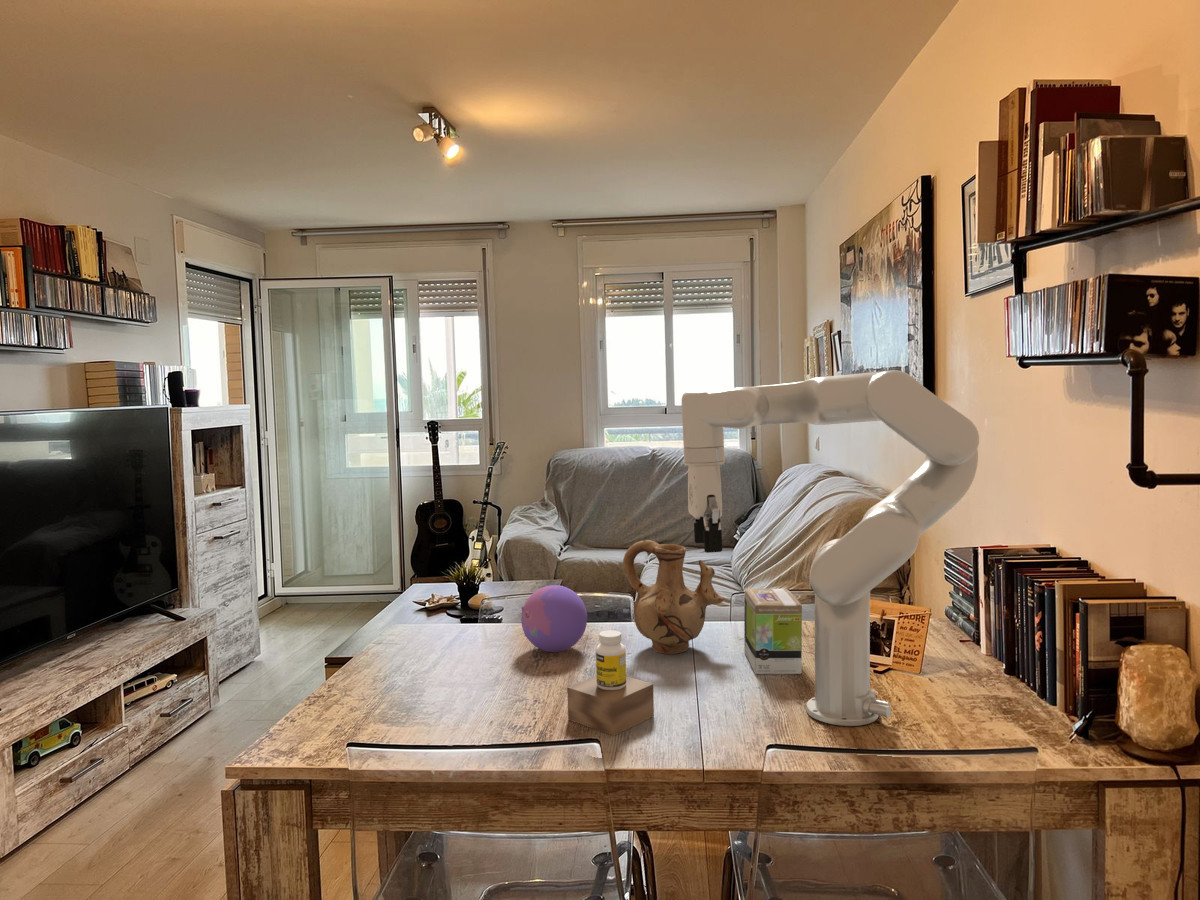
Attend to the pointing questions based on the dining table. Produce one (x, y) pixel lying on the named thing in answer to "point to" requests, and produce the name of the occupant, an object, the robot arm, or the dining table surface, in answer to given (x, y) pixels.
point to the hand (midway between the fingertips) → (708, 547)
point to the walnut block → (610, 705)
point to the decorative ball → (554, 618)
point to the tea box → (773, 631)
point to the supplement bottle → (610, 661)
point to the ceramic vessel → (669, 598)
